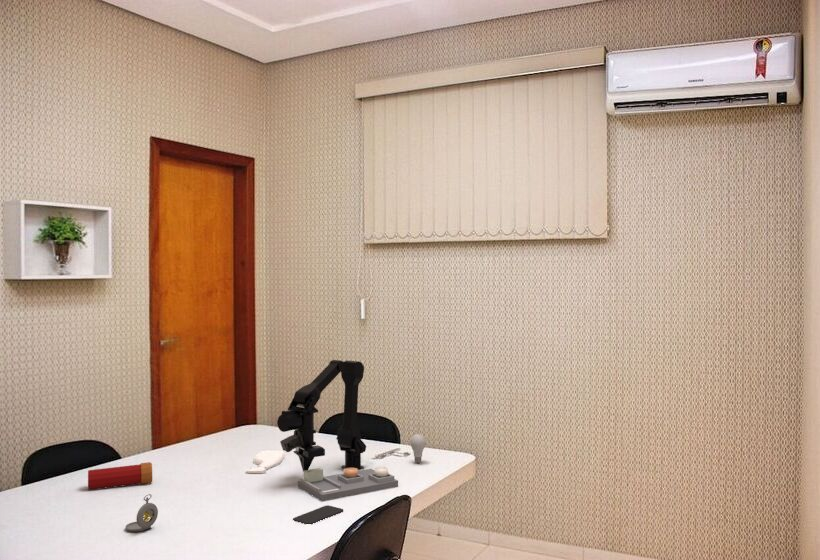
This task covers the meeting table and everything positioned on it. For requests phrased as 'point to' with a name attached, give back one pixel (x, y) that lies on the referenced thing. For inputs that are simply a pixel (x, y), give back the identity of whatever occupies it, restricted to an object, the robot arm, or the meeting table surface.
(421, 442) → the lightbulb
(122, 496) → the meeting table surface
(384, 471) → the offwhite button
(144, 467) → the red tube
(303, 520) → the phone
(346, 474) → the terracotta button
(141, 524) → the pocket watch
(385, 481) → the control board
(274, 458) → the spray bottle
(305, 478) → the pale green block
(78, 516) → the meeting table surface
